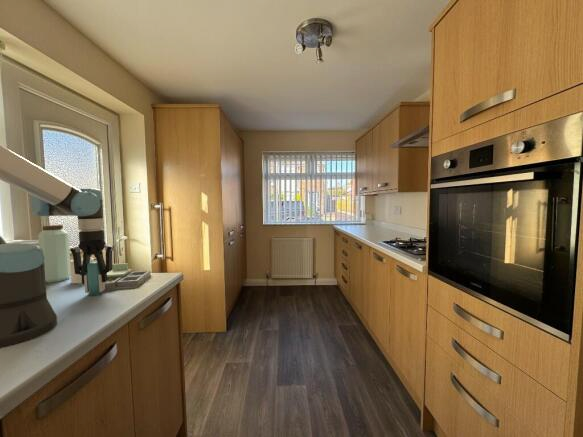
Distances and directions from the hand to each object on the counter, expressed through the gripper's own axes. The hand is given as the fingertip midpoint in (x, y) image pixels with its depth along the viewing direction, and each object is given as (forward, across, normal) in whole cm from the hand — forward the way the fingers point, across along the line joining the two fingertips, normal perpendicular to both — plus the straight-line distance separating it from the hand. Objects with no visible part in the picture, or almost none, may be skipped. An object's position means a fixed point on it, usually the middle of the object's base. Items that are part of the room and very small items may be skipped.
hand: (95, 290), depth 96 cm
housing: (+1, -5, -12) cm, 13 cm away
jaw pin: (+1, 0, 0) cm, 1 cm away
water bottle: (+1, +28, -26) cm, 38 cm away
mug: (+1, +14, -19) cm, 24 cm away
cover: (-2, -1, -16) cm, 16 cm away
